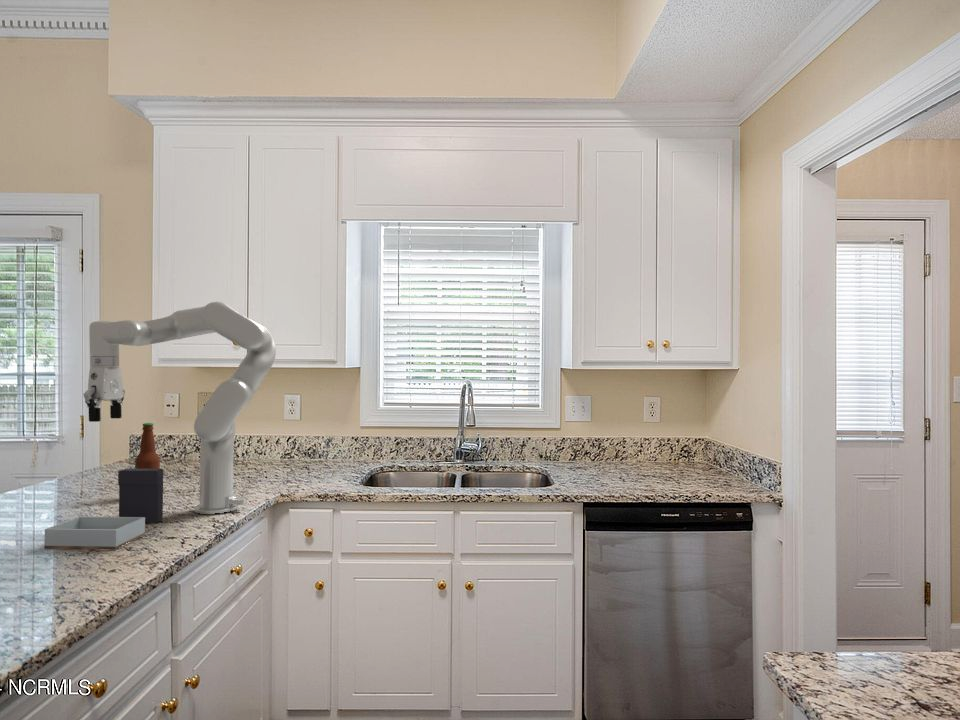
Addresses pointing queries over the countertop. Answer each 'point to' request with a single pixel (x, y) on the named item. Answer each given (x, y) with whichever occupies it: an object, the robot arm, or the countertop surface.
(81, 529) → the grey tray
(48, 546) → the pen board
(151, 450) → the bottle
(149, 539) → the countertop surface
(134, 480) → the tall charcoal block
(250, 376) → the robot arm
